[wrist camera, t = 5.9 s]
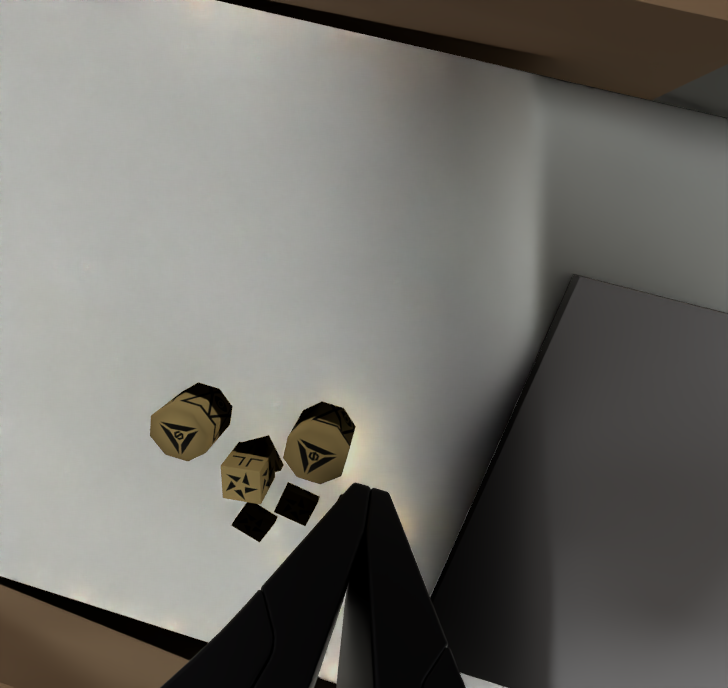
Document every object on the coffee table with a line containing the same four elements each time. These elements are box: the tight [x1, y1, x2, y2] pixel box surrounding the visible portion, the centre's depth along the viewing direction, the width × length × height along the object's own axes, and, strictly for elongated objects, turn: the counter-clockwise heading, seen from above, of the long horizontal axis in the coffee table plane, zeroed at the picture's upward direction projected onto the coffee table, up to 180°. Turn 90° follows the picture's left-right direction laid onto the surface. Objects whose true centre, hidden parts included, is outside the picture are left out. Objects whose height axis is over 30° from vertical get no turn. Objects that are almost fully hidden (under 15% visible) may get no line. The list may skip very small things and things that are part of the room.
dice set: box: [150, 382, 356, 542], centre depth 10 cm, size 5×5×2 cm
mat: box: [430, 274, 728, 688], centre depth 9 cm, size 12×12×1 cm
